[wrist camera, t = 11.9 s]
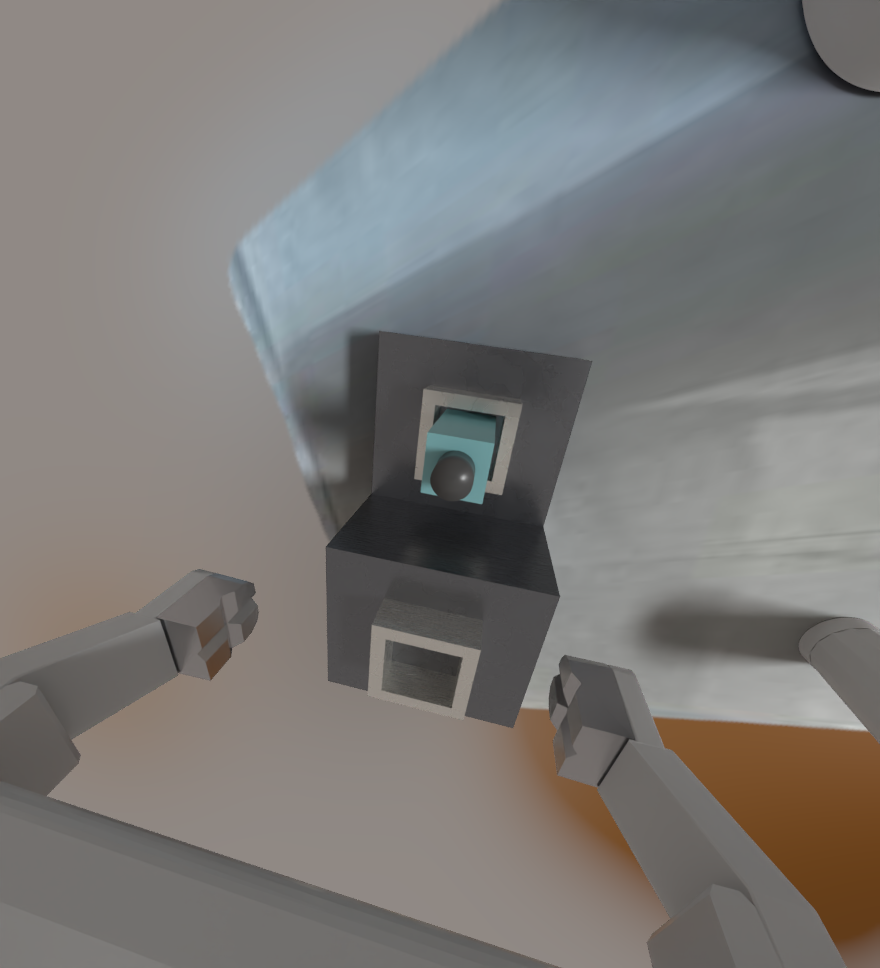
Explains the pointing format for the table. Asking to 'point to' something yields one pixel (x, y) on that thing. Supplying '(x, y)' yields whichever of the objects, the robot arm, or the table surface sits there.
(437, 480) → the plug
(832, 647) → the cup
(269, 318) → the table surface
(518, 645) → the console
